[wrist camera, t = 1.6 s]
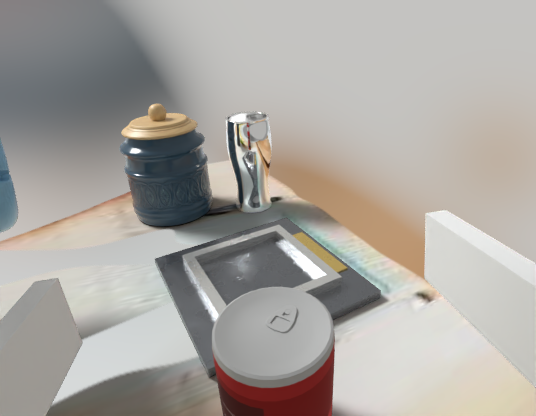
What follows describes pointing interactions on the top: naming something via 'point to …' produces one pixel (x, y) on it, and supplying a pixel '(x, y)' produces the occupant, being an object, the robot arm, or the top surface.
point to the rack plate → (256, 277)
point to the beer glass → (250, 159)
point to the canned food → (274, 354)
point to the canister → (166, 168)
